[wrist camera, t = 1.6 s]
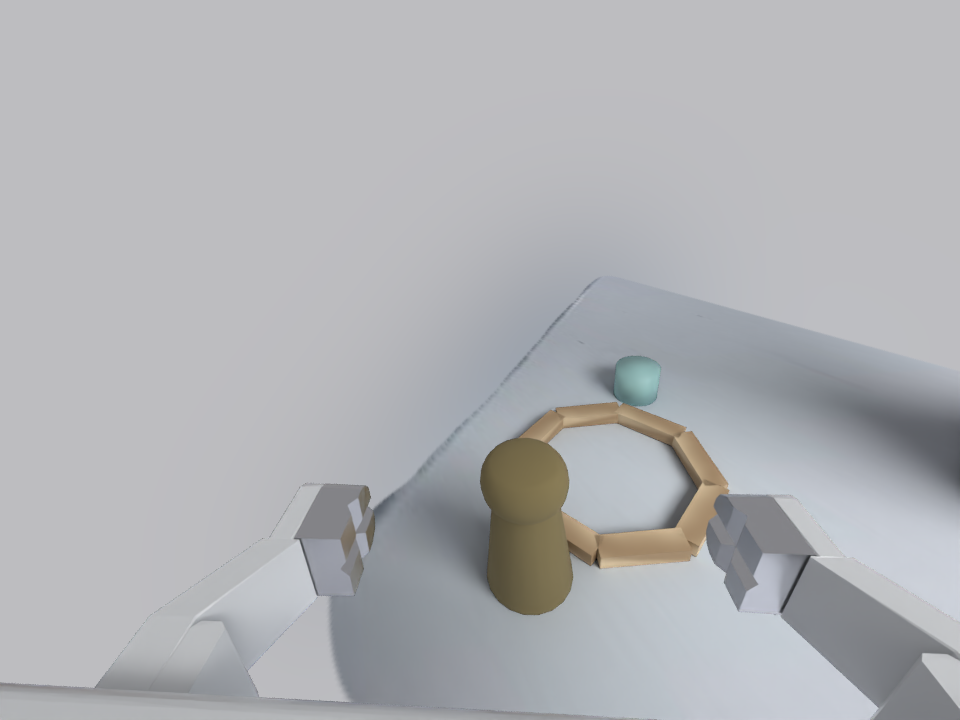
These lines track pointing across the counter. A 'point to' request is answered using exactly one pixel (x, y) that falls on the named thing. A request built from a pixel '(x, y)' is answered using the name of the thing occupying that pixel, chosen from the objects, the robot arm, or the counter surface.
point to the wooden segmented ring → (651, 542)
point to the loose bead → (636, 380)
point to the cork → (527, 525)
